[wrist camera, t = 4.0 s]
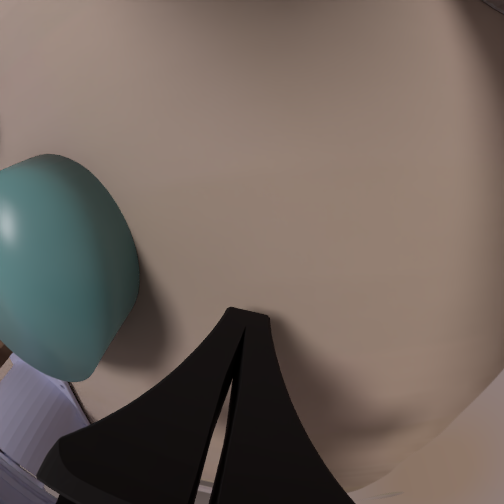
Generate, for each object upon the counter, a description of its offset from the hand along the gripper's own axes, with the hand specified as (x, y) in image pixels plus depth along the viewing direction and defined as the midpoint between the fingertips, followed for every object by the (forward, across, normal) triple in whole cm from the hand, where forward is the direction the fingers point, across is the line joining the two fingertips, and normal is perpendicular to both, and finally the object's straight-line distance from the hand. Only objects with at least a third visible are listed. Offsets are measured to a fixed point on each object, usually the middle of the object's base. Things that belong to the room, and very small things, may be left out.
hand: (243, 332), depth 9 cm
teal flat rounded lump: (+2, +9, 0) cm, 9 cm away
